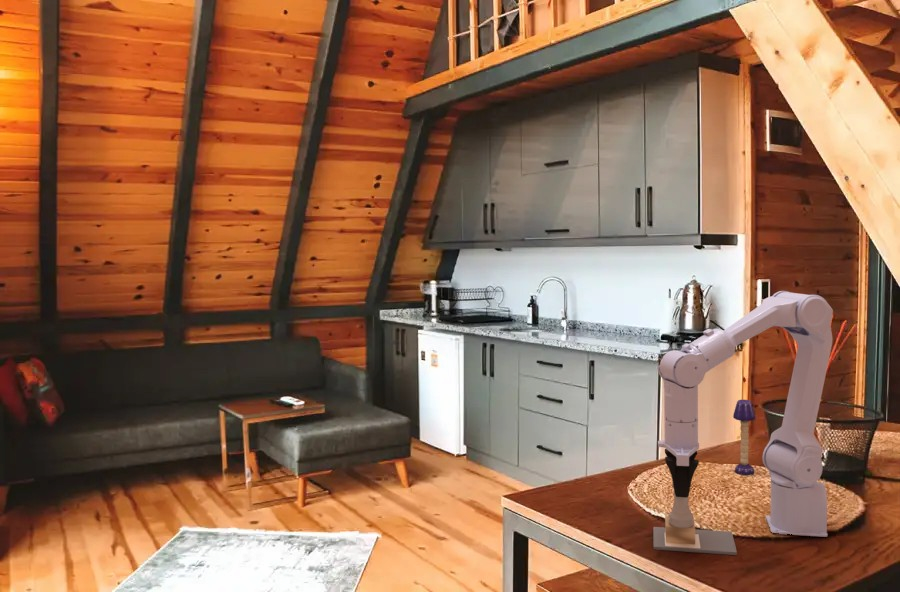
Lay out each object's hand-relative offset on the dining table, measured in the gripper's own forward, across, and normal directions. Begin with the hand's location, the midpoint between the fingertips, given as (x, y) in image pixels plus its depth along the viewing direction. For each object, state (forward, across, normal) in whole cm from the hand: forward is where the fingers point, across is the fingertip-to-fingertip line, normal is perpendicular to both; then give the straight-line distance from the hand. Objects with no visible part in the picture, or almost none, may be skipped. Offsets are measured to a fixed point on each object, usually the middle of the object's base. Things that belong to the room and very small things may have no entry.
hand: (681, 492), depth 140 cm
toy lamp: (+10, -42, +15) cm, 45 cm away
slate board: (+9, -1, +2) cm, 10 cm away
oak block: (+9, -1, 0) cm, 9 cm away
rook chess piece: (+6, 0, 0) cm, 6 cm away
